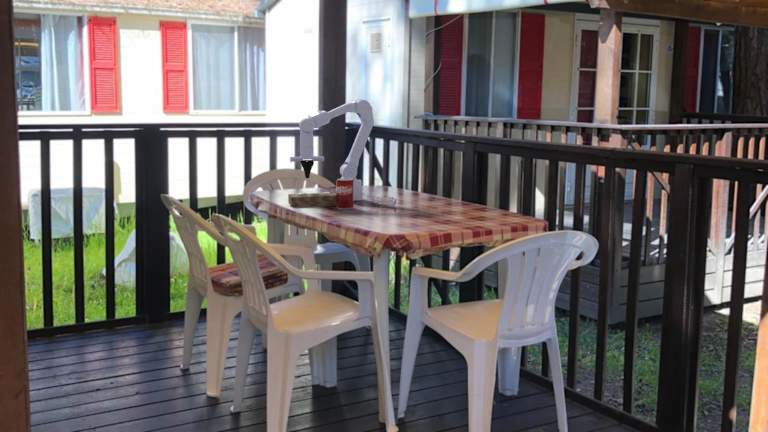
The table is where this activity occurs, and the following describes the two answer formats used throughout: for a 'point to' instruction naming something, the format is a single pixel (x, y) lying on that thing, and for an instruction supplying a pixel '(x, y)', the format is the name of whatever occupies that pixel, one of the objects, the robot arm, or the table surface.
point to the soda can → (345, 193)
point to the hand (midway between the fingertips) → (307, 178)
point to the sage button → (301, 194)
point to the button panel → (312, 200)
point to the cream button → (324, 193)
